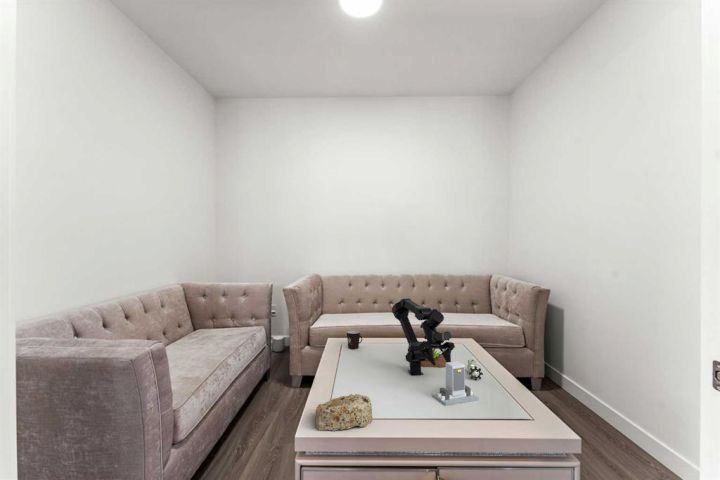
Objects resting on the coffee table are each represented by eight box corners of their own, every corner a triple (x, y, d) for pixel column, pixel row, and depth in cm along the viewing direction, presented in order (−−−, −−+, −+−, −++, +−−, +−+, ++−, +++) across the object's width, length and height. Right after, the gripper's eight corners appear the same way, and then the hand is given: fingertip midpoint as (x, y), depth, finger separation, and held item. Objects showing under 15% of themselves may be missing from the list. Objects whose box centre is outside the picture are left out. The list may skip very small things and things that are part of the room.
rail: (445, 406, 145) (445, 395, 145) (432, 396, 154) (432, 386, 154) (478, 400, 150) (478, 389, 150) (463, 391, 160) (463, 381, 160)
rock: (317, 438, 122) (314, 406, 124) (316, 428, 136) (313, 399, 138) (377, 426, 125) (373, 395, 128) (370, 417, 139) (366, 390, 142)
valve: (464, 372, 185) (468, 380, 173) (464, 358, 185) (468, 366, 173) (477, 372, 184) (483, 381, 172) (477, 359, 185) (482, 367, 173)
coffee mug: (345, 346, 232) (345, 331, 233) (357, 345, 235) (357, 330, 235) (349, 351, 221) (349, 335, 222) (363, 350, 224) (363, 334, 224)
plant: (448, 358, 210) (448, 338, 210) (452, 369, 190) (452, 347, 191) (413, 356, 212) (413, 337, 213) (413, 367, 193) (413, 346, 193)
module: (445, 391, 153) (445, 362, 154) (457, 389, 156) (457, 361, 156) (453, 396, 148) (453, 366, 148) (465, 394, 150) (465, 365, 151)
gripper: (426, 323, 160) (438, 357, 151) (456, 325, 170) (469, 357, 160) (411, 334, 167) (422, 368, 157) (441, 336, 176) (453, 367, 167)
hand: (442, 365), depth 160 cm, fingers open, 9 cm apart
